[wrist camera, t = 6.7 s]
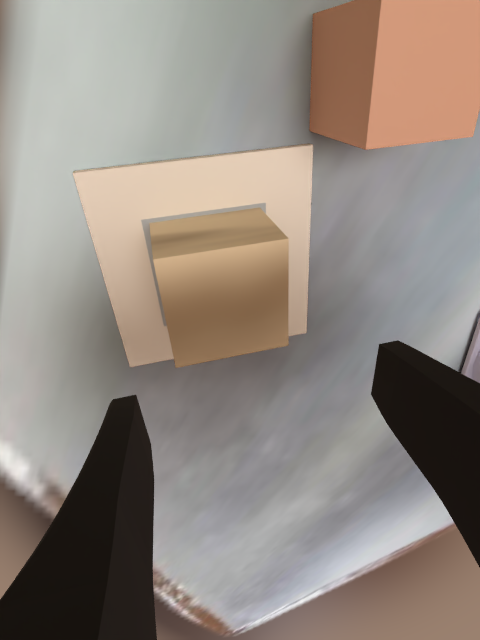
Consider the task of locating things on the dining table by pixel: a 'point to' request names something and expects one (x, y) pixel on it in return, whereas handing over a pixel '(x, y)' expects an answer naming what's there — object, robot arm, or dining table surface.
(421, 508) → the dining table surface
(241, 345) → the maple block
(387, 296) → the dining table surface
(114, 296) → the square frame
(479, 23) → the terracotta block
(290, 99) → the dining table surface
